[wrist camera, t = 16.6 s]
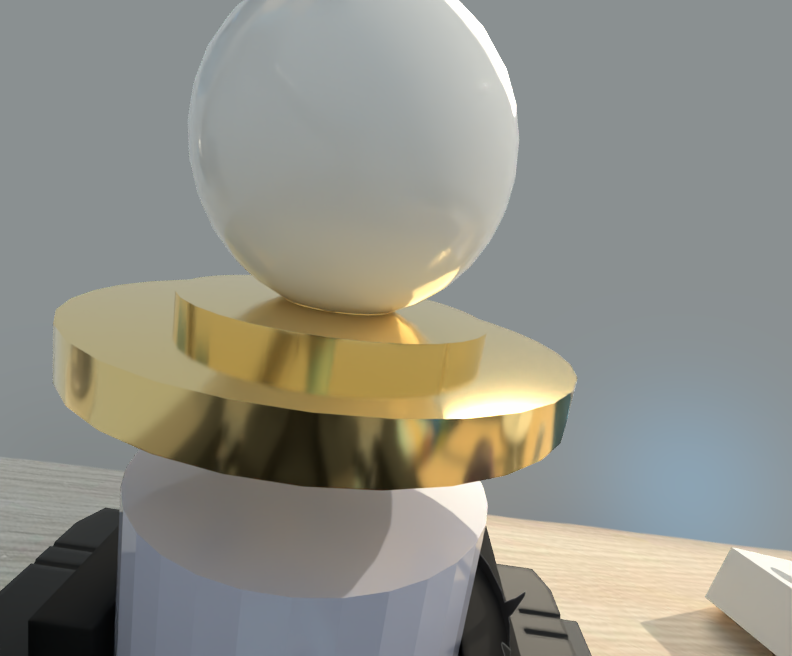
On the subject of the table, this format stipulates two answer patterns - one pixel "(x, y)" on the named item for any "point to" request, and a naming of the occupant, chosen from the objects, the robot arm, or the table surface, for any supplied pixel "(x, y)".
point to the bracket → (757, 597)
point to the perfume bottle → (321, 347)
